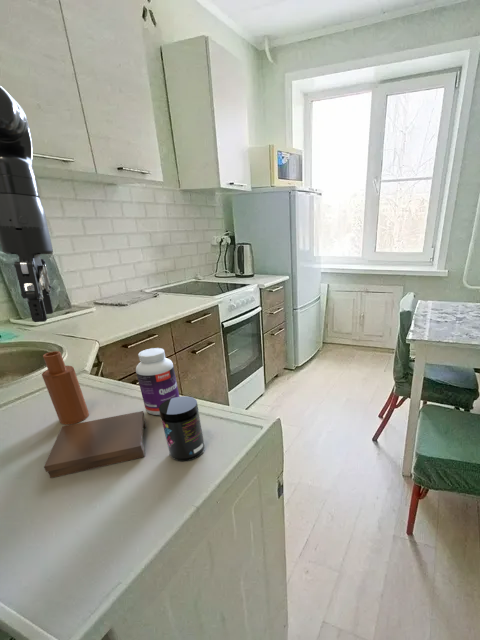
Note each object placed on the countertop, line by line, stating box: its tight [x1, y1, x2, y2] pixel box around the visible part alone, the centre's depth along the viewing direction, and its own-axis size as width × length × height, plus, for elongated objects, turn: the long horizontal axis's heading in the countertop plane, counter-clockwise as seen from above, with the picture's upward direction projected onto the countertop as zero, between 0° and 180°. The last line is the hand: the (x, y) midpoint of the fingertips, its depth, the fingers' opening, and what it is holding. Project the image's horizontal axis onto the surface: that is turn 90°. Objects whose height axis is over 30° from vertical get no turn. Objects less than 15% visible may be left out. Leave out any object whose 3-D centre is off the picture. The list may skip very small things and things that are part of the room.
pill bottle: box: [135, 347, 180, 416], centre depth 81 cm, size 8×8×14 cm
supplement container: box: [159, 395, 205, 462], centre depth 66 cm, size 7×7×10 cm
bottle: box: [41, 350, 90, 426], centre depth 79 cm, size 6×6×16 cm
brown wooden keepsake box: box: [43, 410, 147, 479], centre depth 70 cm, size 16×14×3 cm
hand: (44, 317), depth 68 cm, fingers open, 8 cm apart
